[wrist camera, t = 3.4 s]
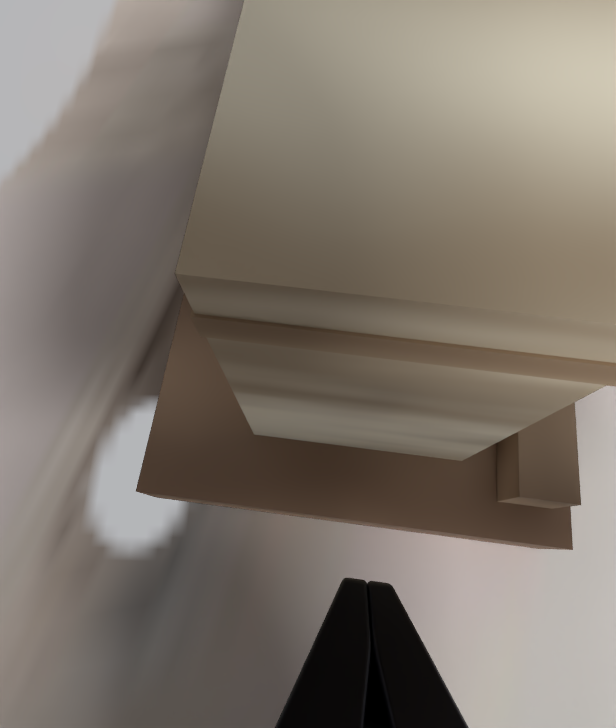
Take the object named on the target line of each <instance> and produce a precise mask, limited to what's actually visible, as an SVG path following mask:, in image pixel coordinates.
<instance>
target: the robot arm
mask: <svg viewBox="0 0 616 728" xmlns="http://www.w3.org/2000/svg"><path fill="white" fill-rule="evenodd" d="M275 728H468V726H467V724H466V722H465V720H464V718H463V717H462V715H461V713H460V711H459V709H458V707H457V705H456V703H455V702H454V700H453V698H452V696H451V694H450V692H449V690H448V689H447V687H446V685H445V683H444V681H443V679H442V677H441V676H440V674H439V672H438V670H437V668H436V666H435V664H434V663H433V661H432V659H431V657H430V655H429V653H428V651H427V650H426V648H425V646H424V644H423V642H422V640H421V638H420V636H419V635H418V633H417V631H416V629H415V627H414V625H413V623H412V622H411V620H410V618H409V616H408V614H407V612H406V610H405V609H404V607H403V605H402V603H401V601H400V599H399V597H398V596H397V594H396V592H395V590H394V588H393V587H392V586H391V585H390V584H388V583H382V582H375V581H370V582H368V583H366V581H364V580H360V579H353V578H344V579H343V580H342V582H341V584H340V587H339V589H338V591H337V593H336V595H335V597H334V600H333V602H332V604H331V606H330V608H329V611H328V613H327V615H326V617H325V619H324V622H323V624H322V626H321V628H320V630H319V632H318V635H317V637H316V639H315V641H314V643H313V646H312V648H311V650H310V652H309V654H308V656H307V659H306V661H305V663H304V665H303V667H302V670H301V672H300V674H299V676H298V678H297V680H296V683H295V685H294V687H293V689H292V691H291V694H290V696H289V698H288V700H287V702H286V704H285V707H284V709H283V711H282V713H281V715H280V718H279V720H278V722H277V724H276V726H275Z"/></svg>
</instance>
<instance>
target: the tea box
mask: <svg viewBox="0 0 616 728" xmlns="http://www.w3.org/2000/svg"><path fill="white" fill-rule="evenodd" d="M175 275H176V277H177V279H178V281H179V283H180V285H181V287H182V289H183V291H184V293H185V295H186V297H187V299H188V302H189V304H190V306H191V308H192V310H191V314H190V317H191V319H192V321H193V323H194V325H195V327H196V329H197V331H198V333H199V335H200V337H206V338H207V340H208V342H209V344H210V346H211V348H212V350H213V352H214V354H215V356H216V358H217V360H218V362H219V364H220V366H221V368H222V370H223V372H224V375H225V377H226V379H227V381H228V383H229V385H230V387H231V389H232V391H233V393H234V395H235V397H236V399H237V401H238V403H239V405H240V407H241V409H242V411H243V413H244V415H245V417H246V419H247V421H248V423H249V425H250V427H251V429H252V431H253V433H254V434H255V435H262V436H270V437H278V438H286V439H294V440H302V441H310V442H317V443H325V444H333V445H341V446H349V447H357V448H365V449H372V450H380V451H388V452H396V453H404V454H412V455H420V456H427V457H435V458H443V459H451V460H459V461H463V460H465V459H466V458H468V457H470V456H472V455H474V454H476V453H478V452H480V451H482V450H484V449H486V448H488V447H489V446H491V445H493V444H495V443H497V442H499V441H501V440H503V439H505V438H507V437H509V436H511V435H512V434H514V433H516V432H518V431H520V430H522V429H524V428H526V427H528V426H530V425H532V424H534V423H535V422H537V421H539V420H541V419H543V418H545V417H547V416H549V415H551V414H553V413H555V412H557V411H558V410H560V409H562V408H564V407H566V406H568V405H570V404H572V403H574V402H576V401H578V400H580V399H581V398H583V397H585V396H587V395H589V394H591V393H593V392H595V391H597V390H599V389H601V388H603V387H604V386H606V385H609V386H616V0H244V3H243V7H242V11H241V15H240V19H239V23H238V26H237V30H236V34H235V38H234V42H233V46H232V50H231V54H230V58H229V62H228V66H227V70H226V74H225V78H224V82H223V86H222V89H221V93H220V97H219V101H218V105H217V109H216V113H215V117H214V121H213V125H212V129H211V133H210V137H209V141H208V145H207V149H206V153H205V156H204V160H203V164H202V168H201V172H200V176H199V180H198V184H197V188H196V192H195V196H194V200H193V204H192V208H191V212H190V216H189V219H188V223H187V227H186V231H185V235H184V239H183V243H182V247H181V251H180V255H179V259H178V263H177V267H176V271H175Z"/></svg>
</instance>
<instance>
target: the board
mask: <svg viewBox="0 0 616 728" xmlns="http://www.w3.org/2000/svg"><path fill="white" fill-rule="evenodd" d="M191 310H192V308H191V306H190V304H189V302H188V299H187V297H186V295H185V293H184V295H183V299H182V303H181V307H180V311H179V316H178V320H177V324H176V328H175V332H174V336H173V340H172V344H171V349H170V353H169V357H168V361H167V365H166V369H165V373H164V377H163V381H162V386H161V390H160V394H159V398H158V402H157V406H156V410H155V414H154V419H153V423H152V427H151V431H150V435H149V440H148V443H147V447H146V452H145V456H144V460H143V464H142V469H141V473H140V476H139V480H138V485H137V489H136V491H137V492H140V493H144V494H147V495H150V496H154V497H158V498H165V499H172V500H180V501H187V502H195V503H202V504H210V505H217V506H224V507H232V508H239V509H247V510H254V511H262V512H269V513H277V514H284V515H292V516H299V517H307V518H314V519H321V520H329V521H336V522H344V523H351V524H359V525H366V526H374V527H381V528H389V529H396V530H404V531H411V532H419V533H426V534H433V535H441V536H448V537H456V538H463V539H471V540H478V541H486V542H493V543H501V544H508V545H516V546H523V547H530V548H538V549H567V550H573V546H572V528H571V510H570V506H576V505H581V497H580V481H579V466H578V450H577V434H576V418H575V402H574V403H572V404H570V405H568V406H566V407H564V408H562V409H560V410H558V411H557V412H555V413H553V414H551V415H549V416H547V417H545V418H543V419H541V420H539V421H537V422H535V423H534V424H532V425H530V426H528V427H526V428H524V429H522V430H520V431H518V432H516V433H514V434H512V435H511V436H509V437H507V438H505V439H503V440H501V441H499V442H497V443H495V444H493V445H491V446H489V447H488V448H486V449H484V450H482V451H480V452H478V453H476V454H474V455H472V456H470V457H468V458H466V459H465V460H463V461H459V460H451V459H443V458H435V457H427V456H420V455H412V454H404V453H396V452H388V451H380V450H372V449H365V448H357V447H349V446H341V445H333V444H325V443H317V442H310V441H302V440H294V439H286V438H278V437H270V436H262V435H255V434H254V433H253V431H252V429H251V427H250V425H249V423H248V421H247V419H246V417H245V415H244V413H243V411H242V409H241V407H240V405H239V403H238V401H237V399H236V397H235V395H234V393H233V391H232V389H231V387H230V385H229V383H228V381H227V379H226V377H225V375H224V372H223V370H222V368H221V366H220V364H219V362H218V360H217V358H216V356H215V354H214V352H213V350H212V348H211V346H210V344H209V342H208V340H207V338H206V337H200V335H199V333H198V331H197V329H196V327H195V325H194V323H193V321H192V319H191V317H190V314H191Z"/></svg>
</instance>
